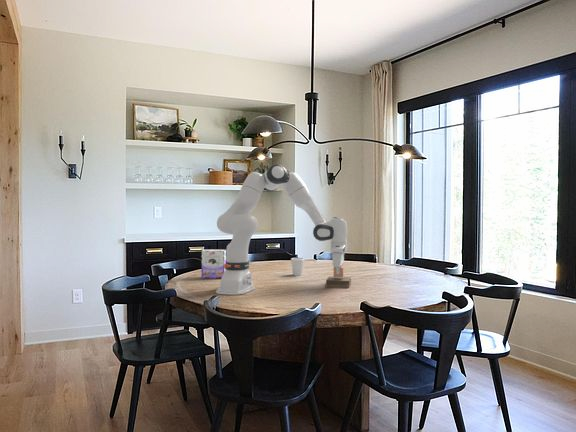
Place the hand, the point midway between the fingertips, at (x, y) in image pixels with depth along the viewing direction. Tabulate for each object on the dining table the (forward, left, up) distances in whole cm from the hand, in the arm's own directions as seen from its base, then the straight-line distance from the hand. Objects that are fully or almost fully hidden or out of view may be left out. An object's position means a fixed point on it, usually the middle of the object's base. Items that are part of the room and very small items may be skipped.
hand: (338, 273), depth 251 cm
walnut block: (0, 0, -7) cm, 7 cm away
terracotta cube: (0, 0, -2) cm, 2 cm away
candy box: (+7, +74, -7) cm, 75 cm away
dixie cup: (+27, +28, -7) cm, 39 cm away
